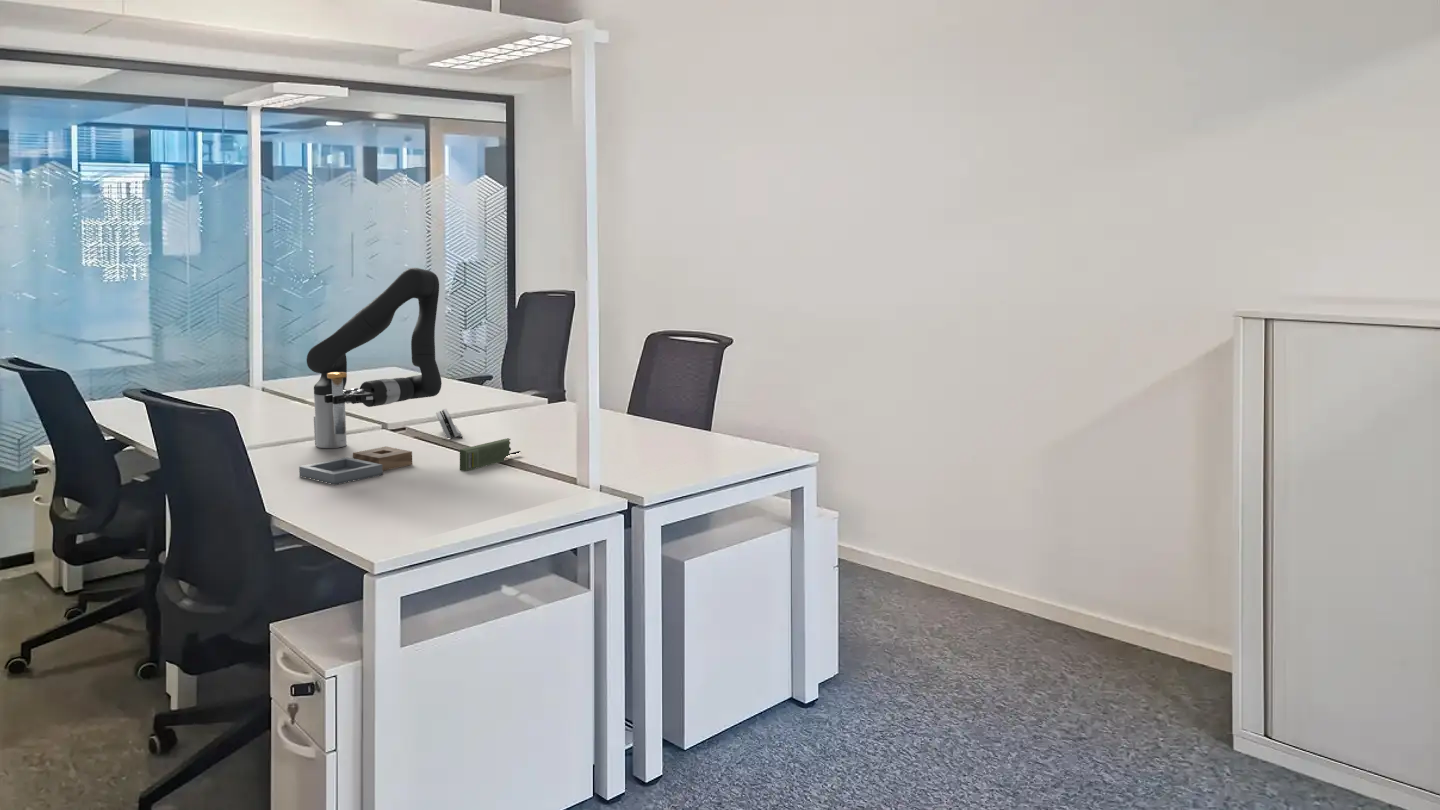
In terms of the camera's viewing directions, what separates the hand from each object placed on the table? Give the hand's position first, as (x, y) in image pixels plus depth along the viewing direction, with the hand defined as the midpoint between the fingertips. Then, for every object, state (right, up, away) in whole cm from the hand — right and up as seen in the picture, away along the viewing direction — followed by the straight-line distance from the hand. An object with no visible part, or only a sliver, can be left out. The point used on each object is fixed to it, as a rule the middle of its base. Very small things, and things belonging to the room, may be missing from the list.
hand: (329, 399), depth 300 cm
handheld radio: (+40, -20, +25) cm, 51 cm away
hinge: (+16, -12, +69) cm, 71 cm away
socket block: (+9, -19, +20) cm, 29 cm away
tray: (+1, -22, +6) cm, 22 cm away
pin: (+2, -10, +4) cm, 10 cm away
